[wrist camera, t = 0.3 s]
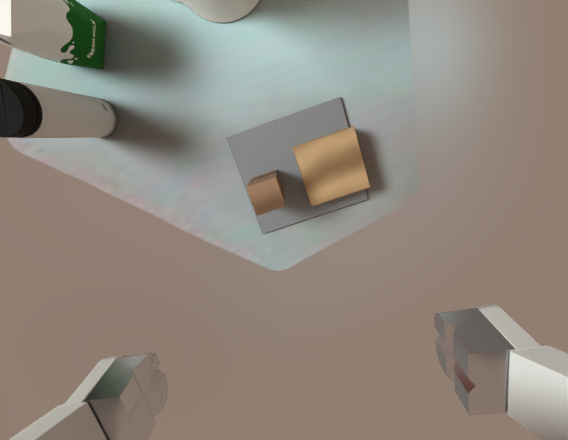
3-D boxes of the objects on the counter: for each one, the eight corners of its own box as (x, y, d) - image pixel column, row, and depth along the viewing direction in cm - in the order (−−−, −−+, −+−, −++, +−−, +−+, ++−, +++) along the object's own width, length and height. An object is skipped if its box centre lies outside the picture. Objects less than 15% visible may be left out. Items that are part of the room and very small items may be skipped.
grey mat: (226, 137, 52) (226, 137, 52) (339, 97, 51) (340, 97, 50) (262, 232, 57) (262, 233, 56) (367, 198, 55) (367, 199, 55)
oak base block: (291, 146, 52) (292, 147, 48) (348, 127, 51) (354, 126, 47) (309, 201, 55) (311, 206, 51) (363, 183, 54) (370, 187, 50)
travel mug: (116, 97, 50) (14, 74, 31) (118, 139, 52) (22, 141, 33) (77, 93, 50) (-50, 67, 31) (80, 135, 52) (-38, 135, 32)
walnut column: (252, 177, 53) (245, 187, 44) (276, 169, 53) (275, 176, 43) (260, 201, 55) (256, 215, 45) (284, 193, 54) (285, 206, 45)
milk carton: (53, 1, 47) (-108, -94, 27) (113, 16, 47) (-2, -67, 28) (51, 63, 49) (-98, 16, 29) (109, 77, 49) (0, 39, 30)
